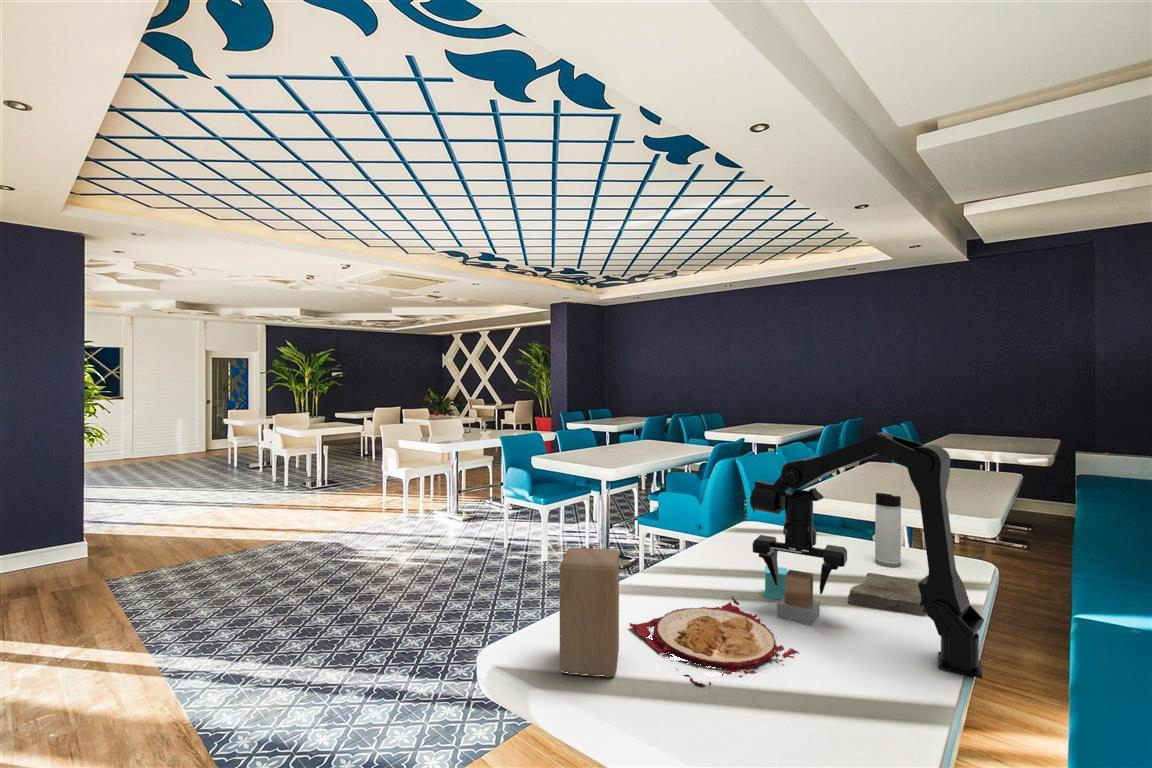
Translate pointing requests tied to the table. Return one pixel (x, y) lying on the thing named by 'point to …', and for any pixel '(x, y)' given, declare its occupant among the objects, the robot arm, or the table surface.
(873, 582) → the marble piece
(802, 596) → the walnut cube
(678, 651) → the plate with food
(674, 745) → the table surface
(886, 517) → the travel mug
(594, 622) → the block
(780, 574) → the teal cube
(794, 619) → the grey slab
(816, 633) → the table surface
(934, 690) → the table surface
